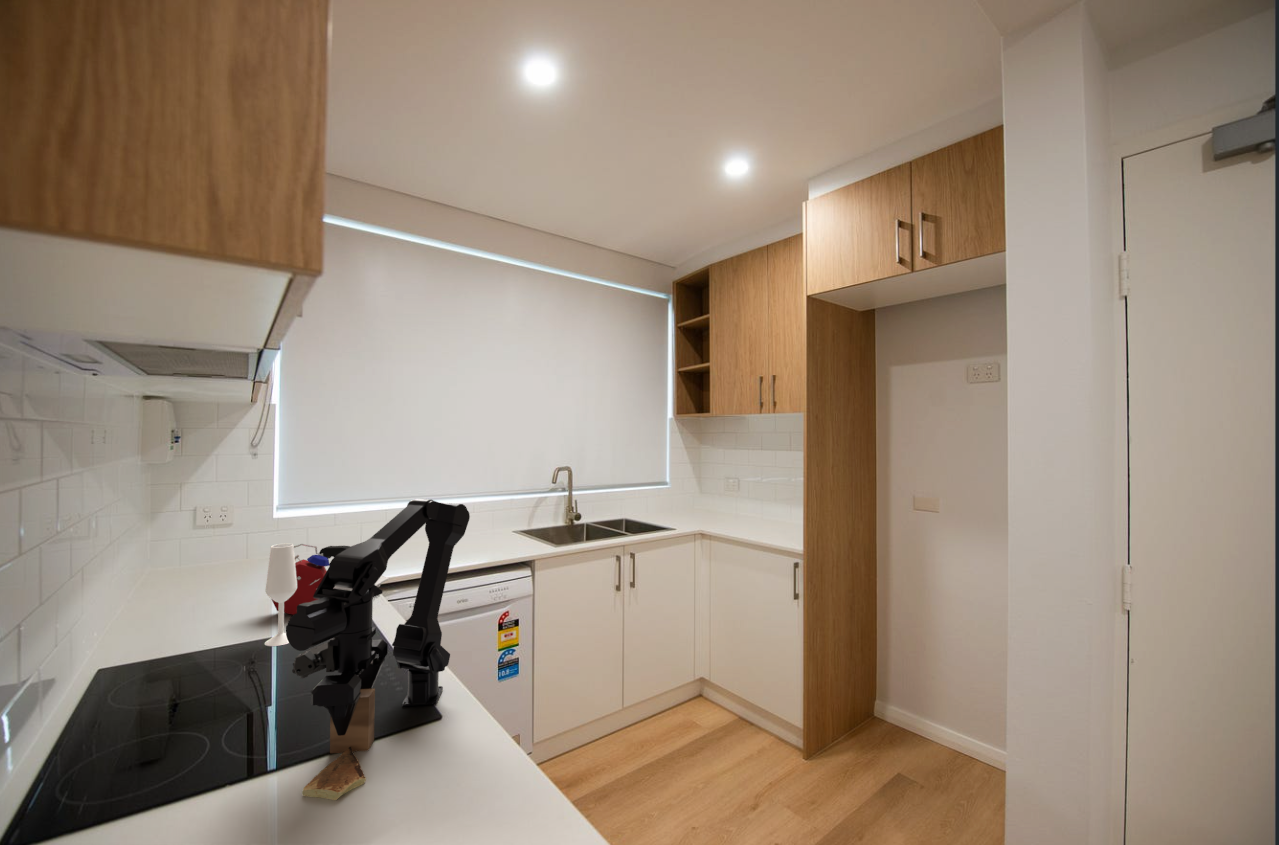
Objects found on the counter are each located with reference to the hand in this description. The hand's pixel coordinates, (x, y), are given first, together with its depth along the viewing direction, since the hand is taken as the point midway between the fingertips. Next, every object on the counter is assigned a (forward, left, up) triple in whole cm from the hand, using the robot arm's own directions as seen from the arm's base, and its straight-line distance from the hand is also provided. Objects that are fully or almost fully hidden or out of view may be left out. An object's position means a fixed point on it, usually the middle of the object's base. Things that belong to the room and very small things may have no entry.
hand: (352, 719), depth 91 cm
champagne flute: (-51, -34, -5) cm, 61 cm away
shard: (+8, 0, -5) cm, 10 cm away
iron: (-90, -33, -5) cm, 96 cm away
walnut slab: (0, 0, -5) cm, 5 cm away
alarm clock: (-71, -38, -5) cm, 80 cm away
